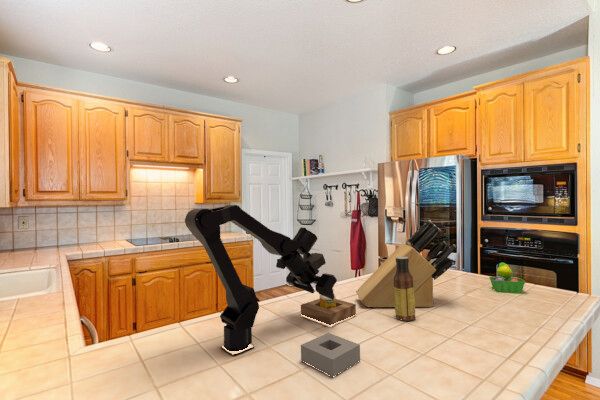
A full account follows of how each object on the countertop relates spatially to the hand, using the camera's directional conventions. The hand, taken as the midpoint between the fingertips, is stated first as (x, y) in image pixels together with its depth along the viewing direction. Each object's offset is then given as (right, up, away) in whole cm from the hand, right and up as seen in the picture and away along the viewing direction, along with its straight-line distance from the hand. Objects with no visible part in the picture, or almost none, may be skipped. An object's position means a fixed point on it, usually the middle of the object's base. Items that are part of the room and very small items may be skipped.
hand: (323, 295), depth 103 cm
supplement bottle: (+2, -8, +1) cm, 8 cm away
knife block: (+32, -7, +13) cm, 35 cm away
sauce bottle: (+27, -7, -1) cm, 28 cm away
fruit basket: (+79, -7, +28) cm, 84 cm away
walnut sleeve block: (+2, -8, +1) cm, 8 cm away
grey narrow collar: (0, -7, -28) cm, 29 cm away
